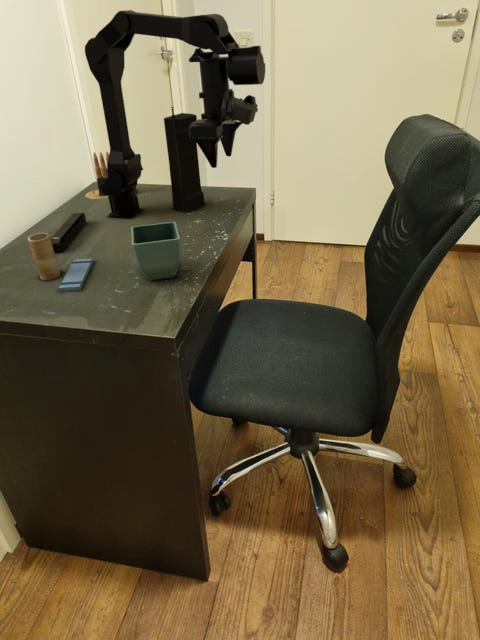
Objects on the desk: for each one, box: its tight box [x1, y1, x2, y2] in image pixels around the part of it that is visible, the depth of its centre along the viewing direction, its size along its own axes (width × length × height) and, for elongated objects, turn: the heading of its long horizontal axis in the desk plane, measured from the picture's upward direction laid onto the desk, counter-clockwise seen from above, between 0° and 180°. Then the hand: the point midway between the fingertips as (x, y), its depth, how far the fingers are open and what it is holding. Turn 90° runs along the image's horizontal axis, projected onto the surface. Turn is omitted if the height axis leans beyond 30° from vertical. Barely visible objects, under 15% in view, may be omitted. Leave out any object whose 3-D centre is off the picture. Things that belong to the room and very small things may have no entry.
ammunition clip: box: [92, 151, 138, 197], centre depth 133 cm, size 11×2×12 cm, turn 93°
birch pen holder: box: [27, 232, 61, 281], centre depth 93 cm, size 4×4×8 cm
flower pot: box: [130, 221, 181, 281], centre depth 91 cm, size 9×9×9 cm
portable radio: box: [163, 106, 205, 212], centre depth 118 cm, size 8×6×25 cm
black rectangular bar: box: [50, 212, 87, 253], centre depth 111 cm, size 18×3×3 cm, turn 178°
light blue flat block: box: [58, 258, 94, 292], centre depth 95 cm, size 4×12×1 cm, turn 3°
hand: (221, 161), depth 106 cm, fingers open, 9 cm apart
